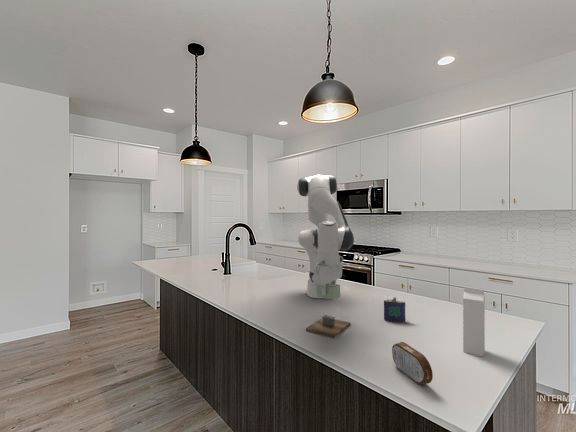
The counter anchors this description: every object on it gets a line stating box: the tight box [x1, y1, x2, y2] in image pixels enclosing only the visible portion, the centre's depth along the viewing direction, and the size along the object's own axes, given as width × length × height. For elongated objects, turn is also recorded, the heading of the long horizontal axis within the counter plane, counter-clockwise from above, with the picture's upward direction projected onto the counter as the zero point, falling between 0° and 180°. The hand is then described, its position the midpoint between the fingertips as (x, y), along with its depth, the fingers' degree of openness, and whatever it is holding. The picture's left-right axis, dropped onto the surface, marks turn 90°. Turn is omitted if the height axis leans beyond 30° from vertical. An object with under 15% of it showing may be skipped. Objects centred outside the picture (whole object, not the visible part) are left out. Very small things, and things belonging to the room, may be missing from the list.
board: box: [305, 317, 351, 339], centre depth 126 cm, size 16×13×1 cm
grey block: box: [322, 314, 336, 327], centre depth 126 cm, size 2×4×5 cm, turn 56°
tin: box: [391, 341, 434, 386], centre depth 88 cm, size 15×3×8 cm, turn 17°
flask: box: [383, 296, 407, 323], centre depth 134 cm, size 9×3×11 cm, turn 74°
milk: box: [462, 287, 486, 357], centre depth 104 cm, size 6×6×22 cm
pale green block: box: [317, 283, 341, 301], centre depth 126 cm, size 6×8×5 cm
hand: (328, 292), depth 126 cm, fingers closed on pale green block, 6 cm apart
